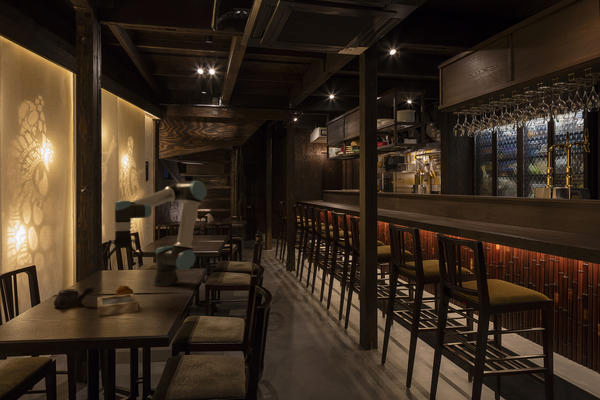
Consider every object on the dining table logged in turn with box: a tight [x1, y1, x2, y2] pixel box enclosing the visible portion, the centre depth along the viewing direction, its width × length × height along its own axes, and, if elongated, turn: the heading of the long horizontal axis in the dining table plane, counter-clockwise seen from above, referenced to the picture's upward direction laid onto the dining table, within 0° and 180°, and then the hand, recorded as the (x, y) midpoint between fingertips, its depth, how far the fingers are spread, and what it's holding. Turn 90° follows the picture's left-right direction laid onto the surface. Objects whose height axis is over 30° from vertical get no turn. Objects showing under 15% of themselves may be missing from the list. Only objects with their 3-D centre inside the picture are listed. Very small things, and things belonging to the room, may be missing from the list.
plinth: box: [97, 293, 139, 317], centre depth 199 cm, size 17×19×4 cm
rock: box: [114, 285, 134, 296], centre depth 215 cm, size 11×8×10 cm
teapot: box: [53, 285, 95, 309], centre depth 204 cm, size 19×15×10 cm
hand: (123, 270), depth 215 cm, fingers open, 13 cm apart
